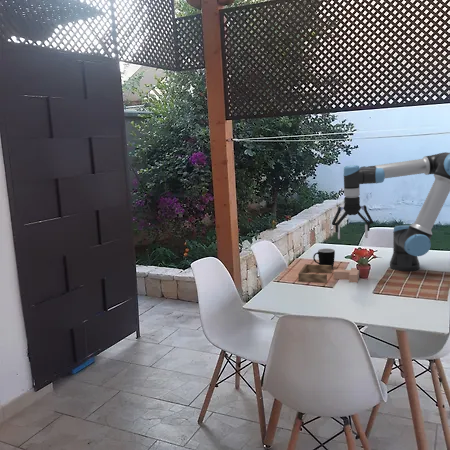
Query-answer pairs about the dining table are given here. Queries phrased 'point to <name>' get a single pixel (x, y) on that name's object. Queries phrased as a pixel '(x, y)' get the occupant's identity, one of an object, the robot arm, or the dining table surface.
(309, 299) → the dining table surface
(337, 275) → the block
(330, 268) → the pocket
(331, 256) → the mug
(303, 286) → the dining table surface
